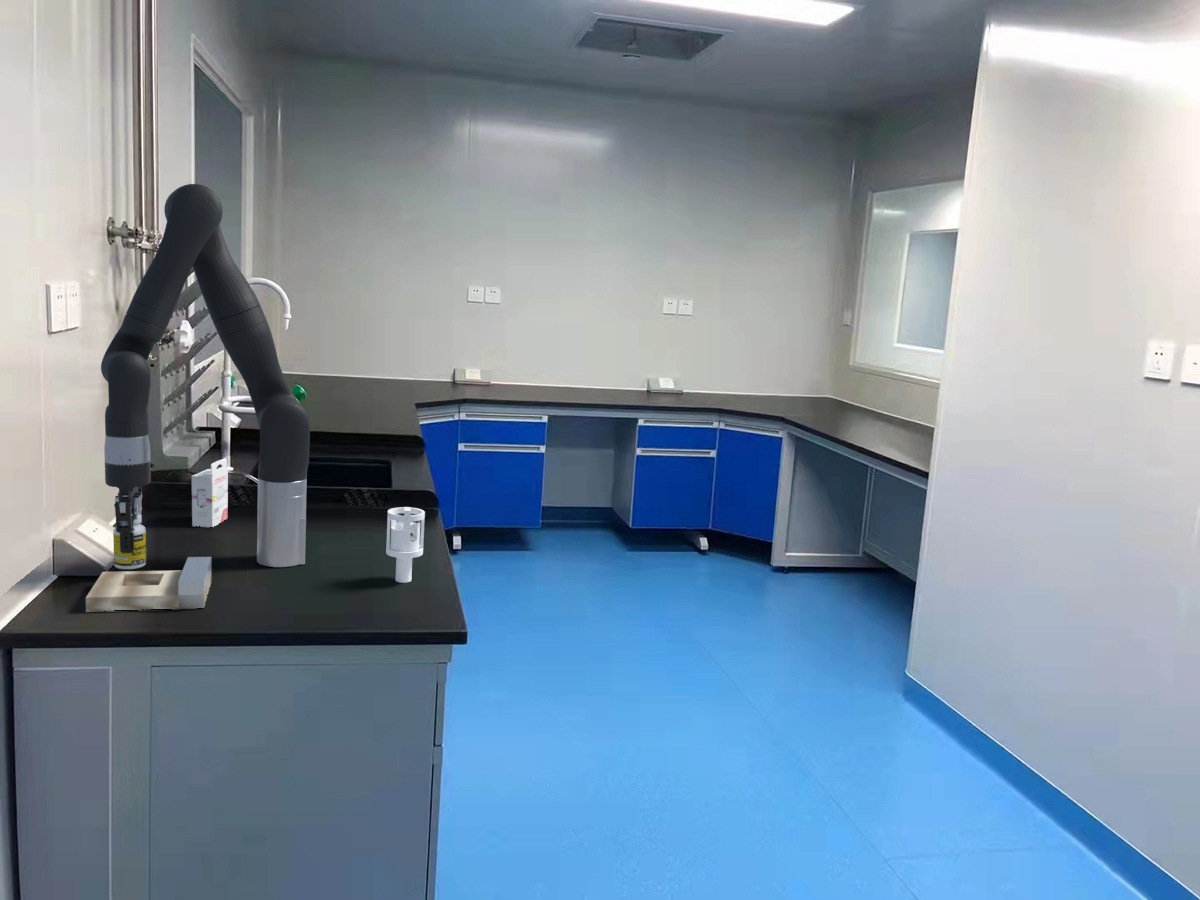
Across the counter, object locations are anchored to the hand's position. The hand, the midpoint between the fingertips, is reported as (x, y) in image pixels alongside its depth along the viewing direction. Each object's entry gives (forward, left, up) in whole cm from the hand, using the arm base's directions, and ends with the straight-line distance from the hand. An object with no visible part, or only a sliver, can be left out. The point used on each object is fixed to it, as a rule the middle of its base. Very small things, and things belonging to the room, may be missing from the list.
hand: (130, 547), depth 173 cm
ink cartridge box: (-11, -37, -5) cm, 39 cm away
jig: (-6, +14, -5) cm, 16 cm away
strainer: (-50, +8, -5) cm, 51 cm away
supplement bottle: (0, 0, -4) cm, 4 cm away
